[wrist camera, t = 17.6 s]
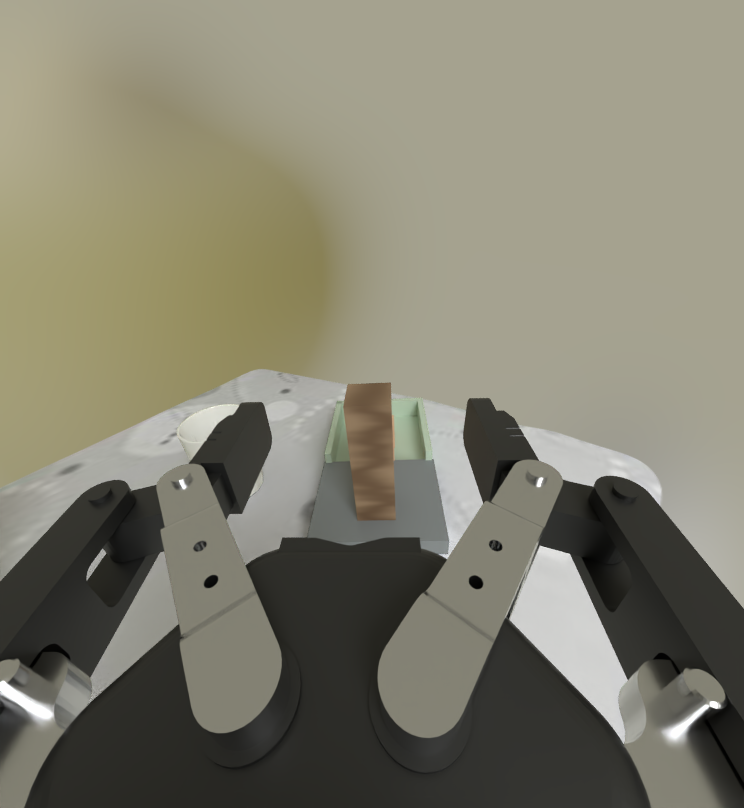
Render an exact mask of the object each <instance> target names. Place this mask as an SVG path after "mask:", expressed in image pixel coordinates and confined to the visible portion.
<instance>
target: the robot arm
mask: <svg viewBox="0 0 744 808" xmlns="http://www.w3.org/2000/svg"><path fill="white" fill-rule="evenodd" d="M463 439H464V446H465V449H466V452H467V455H468V458H469V461H470V464H471V468H472V471H473V474H474V477H475V480H476V483H477V486H478V489H479V492H480V495H481V498H482V501H483V505H482V506H481V508H480V510H479V511H478V513H477V514H476V516H475V517H474V519H473V520H472V522H471V523H470V525H469V527H468V528H467V530H466V531H465V533H464V534H463V536H462V537H461V539H460V541H459V542H458V544H457V545H456V547H455V548H454V550H453V551H452V553H451V554H450V556H449V558H448V559H446V558H444V557H442V556H440V555H438V554H436V553H434V552H431V551H429V550H425V549H422V548H421V544H420V537H385V538H381V539H377V540H372V541H368V542H364V543H360V544H356V545H344V544H340V543H336V542H332V541H328V540H324V539H320V538H282V541H281V545H280V548H279V549H277V550H274V551H271V552H268V553H266V554H264V555H262V556H259V557H258V558H256V559H254V560H253V561H251V562H250V563H248V564H247V565H245V564H244V561H243V559H242V557H241V554H240V552H239V550H238V547H237V545H236V542H235V540H234V538H233V535H232V533H231V531H230V528H229V526H228V523H227V521H226V519H227V517H228V515H229V514H242V512H243V510H244V508H245V506H246V503H247V501H248V499H249V497H250V494H251V492H252V490H253V487H254V485H255V483H256V481H257V478H258V476H259V474H260V472H261V469H262V467H263V465H264V462H265V460H266V458H267V456H268V453H269V451H270V449H271V444H272V435H271V431H270V427H269V423H268V419H267V415H266V411H265V407H264V405H263V403H262V402H246V403H241V404H240V405H239V407H238V408H237V410H236V411H235V413H234V414H233V415H228V416H227V417H226V418H224V419H223V420H222V421H220V422H219V423H218V424H217V425H216V427H215V428H214V429H213V431H212V433H210V435H209V436H208V438H207V441H205V442H204V443H203V445H202V446H201V447H200V449H199V450H198V452H197V453H196V454H195V456H194V457H193V458H192V460H191V461H190V463H189V464H185V465H181V466H179V467H176V468H174V469H172V470H170V471H169V472H167V473H166V474H164V475H163V476H162V477H161V478H160V480H159V481H158V483H157V485H155V486H150V487H146V488H142V489H138V490H133V491H131V489H130V487H129V486H128V484H127V483H126V482H125V481H121V480H112V481H107V482H104V483H101V484H98V485H96V486H94V487H92V488H90V489H89V490H87V491H86V492H84V493H83V494H82V495H81V496H80V497H79V498H78V499H77V500H76V501H75V502H74V503H73V504H72V505H71V506H70V507H69V508H68V509H67V510H66V511H65V513H64V514H63V515H62V516H61V517H60V518H59V519H58V520H57V521H56V522H55V523H54V524H53V525H52V527H51V528H50V529H49V530H48V531H47V532H46V533H45V534H44V535H43V536H42V537H41V538H40V539H39V540H38V542H37V543H36V544H35V545H34V546H33V547H32V548H31V549H30V550H29V551H28V552H27V553H26V554H25V556H24V557H23V558H22V559H21V560H20V561H19V562H18V563H17V564H16V565H15V566H14V567H13V568H12V570H11V571H10V572H9V573H8V574H7V575H6V576H5V577H4V578H3V579H2V580H1V581H0V808H744V609H743V607H742V606H741V605H740V604H739V603H738V601H737V600H736V599H735V598H734V597H733V595H732V594H731V593H730V592H729V590H728V589H727V588H726V587H725V585H724V584H723V583H722V582H721V581H720V579H719V578H718V577H717V576H716V574H715V573H714V572H713V571H712V570H711V568H710V567H709V566H708V564H707V563H706V562H705V561H704V560H703V558H702V557H701V556H700V555H699V554H698V552H697V551H696V550H695V549H694V547H693V546H692V545H691V544H690V542H689V541H688V540H687V539H686V538H685V536H684V535H683V534H682V533H681V531H680V530H679V529H678V528H677V526H676V525H675V524H674V523H673V522H672V520H671V519H670V518H669V517H668V516H667V514H666V513H665V512H664V511H663V509H662V508H661V507H660V506H659V504H658V503H657V502H656V501H655V499H654V498H653V497H652V496H651V495H650V493H649V492H648V491H646V490H645V489H644V488H643V487H641V486H640V485H638V484H636V483H635V482H632V481H630V480H628V479H625V478H621V477H617V476H604V477H601V478H599V479H597V480H596V482H595V484H594V487H592V486H587V485H582V484H578V483H573V482H569V481H566V480H563V479H562V476H561V475H560V473H559V472H558V471H557V470H556V469H555V468H553V467H552V466H550V465H548V464H546V463H544V462H541V461H539V460H538V458H537V456H536V455H535V453H534V451H533V449H532V448H531V446H530V444H529V443H528V441H527V439H526V438H525V437H524V434H523V433H522V431H521V429H519V426H518V424H517V423H516V421H515V419H514V418H513V417H512V416H510V415H509V414H508V413H506V412H505V411H496V409H495V407H494V405H493V404H492V402H491V400H490V399H489V398H470V399H469V400H468V402H467V409H466V417H465V424H464V432H463ZM540 546H544V547H547V548H551V549H555V550H558V551H562V552H566V553H569V554H570V555H571V557H572V559H573V561H574V563H575V566H576V568H577V570H578V572H579V574H580V576H581V579H582V581H583V583H584V585H585V587H586V590H587V592H588V594H589V596H590V598H591V601H592V603H593V605H594V607H595V609H596V612H597V614H598V616H599V618H600V620H601V622H602V625H603V627H604V629H605V631H606V633H607V636H608V638H609V640H610V642H611V644H612V647H613V649H614V651H615V653H616V655H617V657H618V660H619V662H620V664H621V666H622V668H623V671H624V673H625V675H626V677H627V679H628V681H627V682H626V683H625V684H624V685H623V686H622V688H621V690H620V692H619V698H618V703H619V709H620V713H621V716H622V720H623V723H624V729H625V742H624V744H623V743H622V741H621V739H620V738H619V736H618V735H617V733H616V732H615V731H614V729H613V728H612V727H611V725H610V724H609V723H608V722H607V720H606V719H605V718H604V717H603V716H602V715H601V714H600V712H599V711H598V710H597V709H596V708H595V707H594V706H593V705H592V704H591V703H590V702H589V701H588V700H587V699H586V698H585V697H584V696H583V695H582V694H581V693H580V692H579V691H578V690H577V689H576V688H575V687H574V686H573V685H572V684H571V683H570V682H569V681H568V680H567V679H566V677H565V676H564V675H563V674H562V673H561V672H560V671H559V670H558V669H557V668H556V667H555V666H554V665H553V664H552V663H551V662H550V661H549V660H548V659H547V658H546V657H545V656H544V655H543V654H542V653H541V652H540V651H539V650H538V649H537V648H536V647H535V646H534V645H533V644H532V643H531V642H530V641H529V640H528V639H527V638H526V636H525V635H524V634H523V633H522V632H521V631H520V630H519V629H518V628H517V627H516V626H515V625H514V624H513V623H512V622H511V621H510V618H511V615H512V613H513V611H514V608H515V605H516V603H517V600H518V598H519V595H520V593H521V590H522V588H523V585H524V583H525V581H526V578H527V576H528V573H529V571H530V569H531V566H532V564H533V561H534V559H535V557H536V554H537V552H538V549H539V547H540ZM102 548H103V549H104V550H105V552H106V555H105V556H104V558H103V559H102V560H101V562H100V563H99V565H98V566H97V568H96V569H95V570H94V572H93V573H92V575H91V576H90V577H89V579H88V580H86V576H87V571H88V568H89V566H90V565H91V563H92V562H93V561H94V559H95V558H96V556H97V555H98V554H99V552H100V551H101V550H102ZM163 551H164V552H165V557H166V562H167V566H168V571H169V576H170V581H171V586H172V591H173V596H174V601H175V606H176V611H177V616H178V621H179V624H178V625H177V626H176V627H175V628H174V629H173V630H172V631H170V632H169V633H168V634H167V635H166V636H165V637H164V638H163V639H161V640H160V641H159V642H158V643H157V644H156V645H155V646H154V647H152V648H151V649H150V650H149V651H148V652H147V653H146V654H145V655H143V656H142V657H141V658H140V659H139V660H138V661H137V662H136V663H134V664H133V665H132V666H131V667H130V668H129V669H128V670H127V671H125V672H124V673H123V674H122V675H121V676H120V677H119V678H118V679H116V680H115V681H114V682H113V683H112V684H111V685H110V686H108V687H107V688H106V689H105V690H104V691H103V692H102V693H101V694H99V695H98V696H97V697H96V698H95V699H94V700H93V701H92V702H91V703H90V704H89V705H87V704H88V702H89V700H90V696H91V692H92V682H91V679H90V677H91V675H92V673H93V671H94V670H95V668H96V666H97V664H98V662H99V661H100V659H101V657H102V655H103V654H104V652H105V650H106V648H107V646H108V645H109V643H110V641H111V639H112V637H113V636H114V634H115V632H116V630H117V628H118V627H119V625H120V623H121V621H122V619H123V618H124V616H125V614H126V612H127V610H128V609H129V607H130V605H131V603H132V602H133V600H134V598H135V596H136V594H137V593H138V591H139V589H140V587H141V585H142V584H143V582H144V580H145V578H146V576H147V575H148V573H149V571H150V569H151V567H152V566H153V564H154V562H155V560H156V558H157V557H158V555H159V553H160V552H163Z"/></svg>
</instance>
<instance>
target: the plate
mask: <svg viewBox="0 0 744 808" xmlns="http://www.w3.org/2000/svg"><path fill="white" fill-rule="evenodd" d="M394 483H395V511H396V520H372V521H357V513H356V505H355V497H354V489H353V481H352V473H351V465H350V461H340V462H332V463H326V462H325V463H324V467H323V471H322V476H321V480H320V484H319V489H318V493H317V497H316V502H315V506H314V510H313V514H312V519H311V523H310V527H309V532H308V536H307V538H320V539H324V540H328V541H332V542H336V543H340V544H344V545H356V544H360V543H364V542H368V541H372V540H377V539H381V538H385V537H420V544H421V548H422V549H425V550H429V551H431V552H434V553H436V554H448V547H449V538H448V533H447V528H446V522H445V517H444V512H443V507H442V501H441V496H440V491H439V486H438V480H437V475H436V470H435V465H434V459H432V460H426V459H416V460H395V461H394Z"/></svg>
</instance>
